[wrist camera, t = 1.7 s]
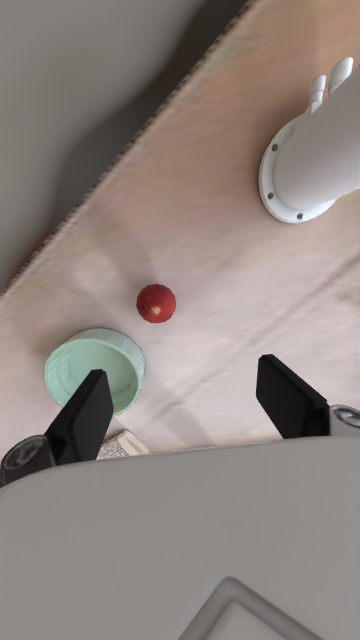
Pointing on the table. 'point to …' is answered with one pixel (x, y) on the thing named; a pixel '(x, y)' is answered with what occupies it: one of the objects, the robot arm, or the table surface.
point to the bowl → (96, 366)
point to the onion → (156, 303)
